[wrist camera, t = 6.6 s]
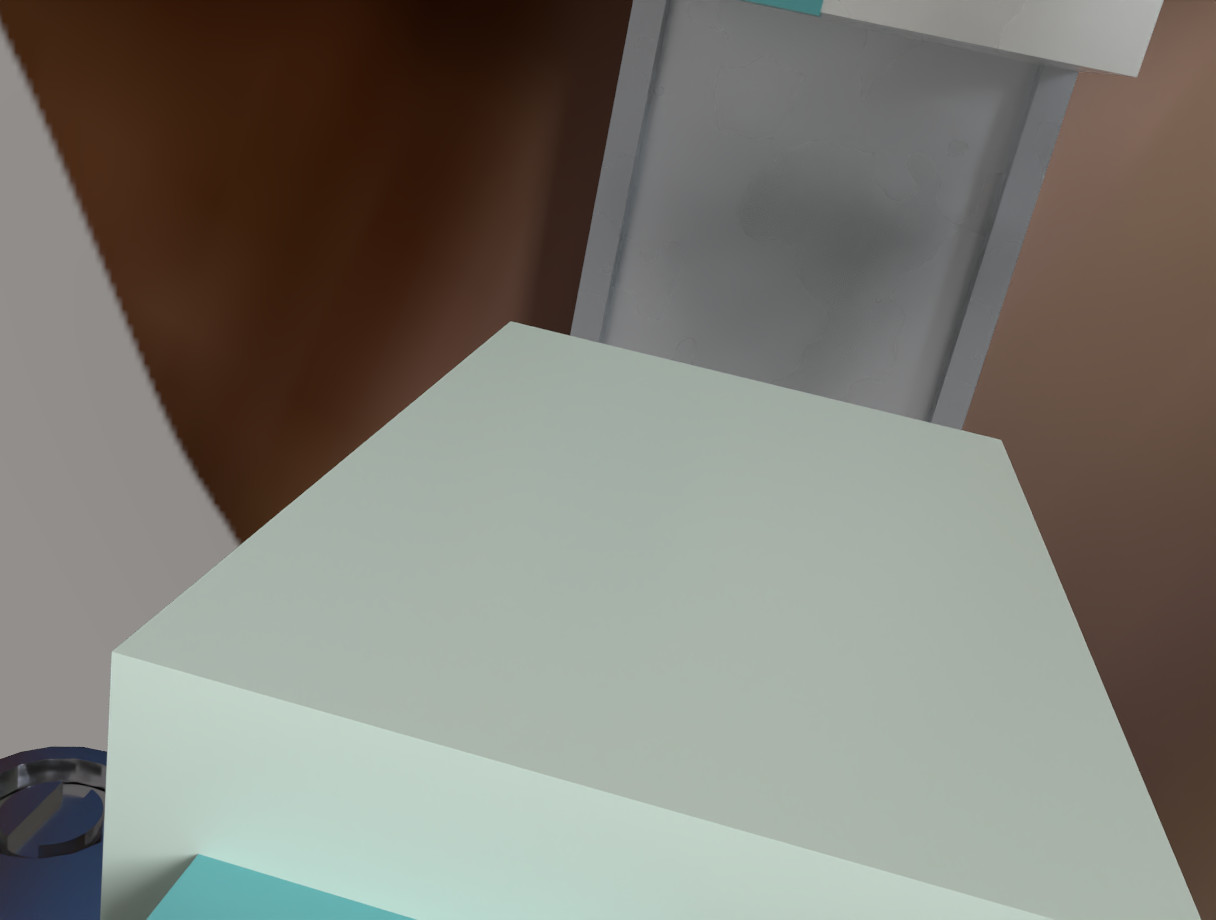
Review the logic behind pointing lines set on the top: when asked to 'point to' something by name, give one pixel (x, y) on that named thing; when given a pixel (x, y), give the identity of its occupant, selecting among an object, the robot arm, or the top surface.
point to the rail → (834, 184)
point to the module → (630, 676)
